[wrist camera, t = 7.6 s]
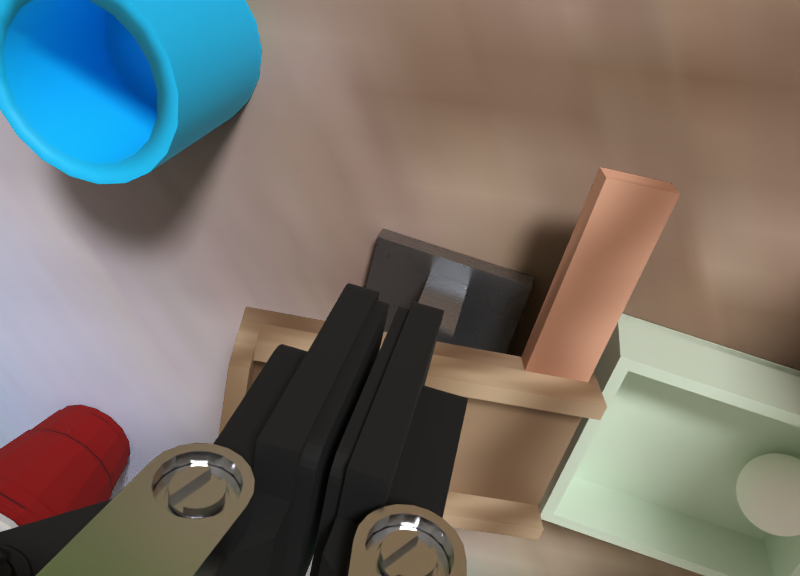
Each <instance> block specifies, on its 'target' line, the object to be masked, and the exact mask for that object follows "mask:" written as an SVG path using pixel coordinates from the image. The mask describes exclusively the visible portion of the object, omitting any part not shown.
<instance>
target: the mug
mask: <svg viewBox="0 0 800 576" xmlns="http://www.w3.org/2000/svg"><path fill="white" fill-rule="evenodd" d="M261 54H262V49H261V44H260V39H259V34H258V29H257V24H256V21H255V19H254V17H253V15H252V13H251V11H250V9H249V6H248V4H247V2H246V0H0V110H1V111H2V113H3V114H4V116H5V117H6V119H7V120H8V122H9V123H10V125H11V126H12V128H13V129H14V131H15V132H16V134H17V135H18V137H19V138H20V139H21V140H23V141H24V142H25V143H26V144H27V145H28V146H29V147H30V148H31V149H32V150H33V151H34V152H35V153H36V154H37V155H38V156H39V157H40V158H41V159H42V160H44V161H45V162H47V163H49V164H50V165H52V166H54V167H55V168H57V169H59V170H61V171H62V172H64V173H66V174H67V175H69V176H71V177H75V178H78V179H82V180H85V181H89V182H93V183H96V184H115V183H127V182H129V181H131V180H134V179H136V178H138V177H141V176H143V175H145V174H147V173H150V172H151V171H153V170H154V169H156V168H157V167H159V166H160V165H162V164H163V163H165V162H166V161H168V160H169V159H171V158H172V157H174V156H175V155H177V154H178V153H180V152H181V151H183V150H184V149H186V148H187V147H189V146H190V145H192V144H193V143H195V142H196V141H198V140H199V139H201V138H202V137H204V136H205V135H207V134H208V133H210V132H211V131H213V130H214V129H216V128H217V127H219V126H220V125H221V124H223V123H224V122H226V121H227V120H229V119H230V118H232V117H233V116H235V114H236V113H237V112H238V111H239V110H240V109H241V108H242V107H243V106H244V105H245V104H246V103H247V102H248V101H249V100H250V98H251V96H252V93H253V91H254V89H255V86H256V84H257V82H258V79H259V76H260V65H261Z"/></svg>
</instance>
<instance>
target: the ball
mask: <svg viewBox="0 0 800 576" xmlns="http://www.w3.org/2000/svg"><path fill="white" fill-rule="evenodd" d="M736 496H737V500H738V503H739V506H740V508H741V510H742V512H743V513H744V515H745V516H746V517H747V518H748V520H749V521H750V522H752V523H753V524H754V525H755V526H756V527H758V528H759V529H761V530H763V531H765V532H767V533H770V534H773V535H777V536H786V537H788V536H797V535H800V459H798V458H795V457H793V456H790V455H786V454H779V453H771V454H765V455H761V456H758V457H756V458H754V459H753V460H751V461H750V462H749V463H747V464H746V465H745V466H744V468H743V469H742V470H741V472H740V474H739V476H738V479H737V483H736Z"/></svg>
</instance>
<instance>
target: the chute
mask: <svg viewBox="0 0 800 576" xmlns="http://www.w3.org/2000/svg"><path fill="white" fill-rule="evenodd" d="M679 195H680V193H679V192H678V191H677V190H676V188H675V187H674V186H673V185H672V183H668V182H664V181H659V180H655V179H650V178H646V177H641V176H637V175H632V174H628V173H624V172H619V171H615V170H610V169H606V168H601V167H600V168H599V170H598V173H597V175H596V178H595V180H594V182H593V185H592V187H591V190H590V192H589V195H588V197H587V199H586V202H585V204H584V207H583V209H582V211H581V214H580V216H579V219H578V221H577V224H576V226H575V228H574V231H573V233H572V236H571V238H570V240H569V243H568V245H567V248H566V250H565V253H564V255H563V257H562V260H561V262H560V265H559V267H558V269H557V272H556V274H555V277H554V279H553V282H552V284H551V286H550V289H549V291H548V294H547V296H546V298H545V301H544V303H543V306H542V308H541V311H540V313H539V315H538V318H537V320H536V323H535V325H534V327H533V330H532V332H531V335H530V337H529V340H528V342H527V344H526V347H525V349H524V352H523V354H522V356H521V357H519V356H514V355H508V354H503V353H497V352H492V351H486V350H481V349H475V348H470V347H464V346H459V345H453V344H448V343H443V342H437V341H436V345H435V349H434V352H433V356H432V360H431V363H430V367H429V371H428V375H427V378H426V382H425V386H428V387H431V388H435V389H438V390H441V391H445V392H448V393H452V394H455V395H459V396H462V397H465V398H468V402H467V407H466V412H465V416H464V421H463V426H462V430H461V435H460V439H459V444H458V449H457V453H456V458H455V463H454V467H453V472H452V477H451V481H450V486H449V491H448V495H447V500H446V505H445V509H444V514H443V519H444V520H445V521H446V522H447V523H448V524H449V525H450V526H451V527H454V528H461V529H468V530H475V531H482V532H488V533H495V534H502V535H509V536H516V537H523V538H529V539H536V540H538V539H539V537H540V536H541V534H542V532H543V530H544V529H543V524H542V520H541V515H540V511H539V506H538V505H539V503H540V501H541V499H542V497H543V495H544V493H545V491H546V489H547V487H548V485H549V483H550V481H551V479H552V477H553V475H554V473H555V471H556V469H557V467H558V465H559V463H560V461H561V459H562V457H563V455H564V453H565V451H566V449H567V447H568V445H569V443H570V441H571V439H572V437H573V435H574V433H575V431H576V429H577V427H578V425H579V423H580V421H581V419H582V417H584V418H590V419H596V420H601V418H602V416H603V414H604V412H605V410H606V408H607V405H606V402H605V400H604V397H603V394H602V392H601V389H600V386H599V384H598V381H597V378H596V376H595V373H594V370H595V368H596V365H597V363H598V361H599V359H600V357H601V355H602V353H603V351H604V349H605V347H606V345H607V343H608V341H609V339H610V337H611V335H612V333H613V331H614V329H615V327H616V325H617V322H618V320H619V318H620V316H621V314H622V312H623V310H624V308H625V306H626V304H627V302H628V300H629V298H630V296H631V294H632V292H633V290H634V288H635V286H636V284H637V282H638V279H639V277H640V275H641V273H642V271H643V269H644V267H645V265H646V263H647V261H648V259H649V257H650V255H651V253H652V251H653V249H654V247H655V245H656V243H657V241H658V239H659V236H660V234H661V232H662V230H663V228H664V226H665V224H666V222H667V220H668V218H669V216H670V214H671V212H672V210H673V208H674V206H675V204H676V202H677V200H678V198H679ZM324 323H325V321H322V320H317V319H311V318H306V317H300V316H295V315H289V314H284V313H279V312H273V311H268V310H262V309H257V308H251V307H246V308H245V311H244V315H243V318H242V322H241V325H240V328H239V332H238V335H237V339H236V342H235V345H234V349H233V352H232V356H231V359H230V362H229V367H228V374H227V381H226V388H225V395H224V402H223V410H222V417H221V424H220V431H219V435H220V433H221V432H222V430H223V429H224V427H225V426H226V424H227V422H228V421H229V419H230V418H231V416H232V415H233V413H234V412H235V410H236V409H237V407H238V406H239V404H240V403H241V401H242V399H243V398H244V396H245V395H246V393H247V392H248V390H249V389H250V387H251V386H252V384H253V383H254V381H255V379H256V378H257V376H258V375H259V373H260V372H261V370H262V369H263V367H264V366H265V364H266V363H267V361H268V360H269V358H270V356H271V355H272V353H273V352H274V350H275V349H276V348H277V347H278V345H280V344H284V345H287V346H291V347H294V348H298V349H301V350H304V351H308V350H309V349H310V347H311V345H312V343H313V342H314V340H315V338H316V336H317V335H318V333H319V331H320V330H321V328H322V326H323V324H324ZM386 334H387V332H384V333H383V337H382V342H381V346H382V344H383V341H384V339H385V337H386ZM381 346H380V348H381Z"/></svg>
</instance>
